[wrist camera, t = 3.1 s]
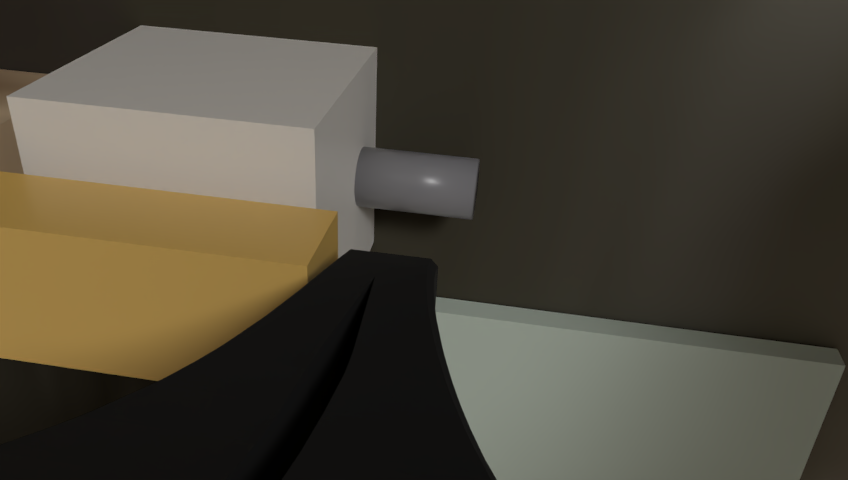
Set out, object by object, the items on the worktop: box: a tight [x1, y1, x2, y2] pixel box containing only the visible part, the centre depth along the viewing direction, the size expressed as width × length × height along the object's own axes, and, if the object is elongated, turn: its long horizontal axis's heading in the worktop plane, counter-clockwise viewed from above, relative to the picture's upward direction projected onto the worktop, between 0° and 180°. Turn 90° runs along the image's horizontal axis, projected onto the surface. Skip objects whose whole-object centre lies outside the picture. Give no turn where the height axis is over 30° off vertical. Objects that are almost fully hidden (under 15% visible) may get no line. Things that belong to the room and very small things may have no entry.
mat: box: [435, 297, 845, 480], centre depth 19 cm, size 10×8×1 cm
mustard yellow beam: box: [0, 171, 338, 381], centre depth 12 cm, size 9×2×2 cm, turn 87°
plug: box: [6, 25, 480, 258], centre depth 15 cm, size 7×4×5 cm, turn 87°
